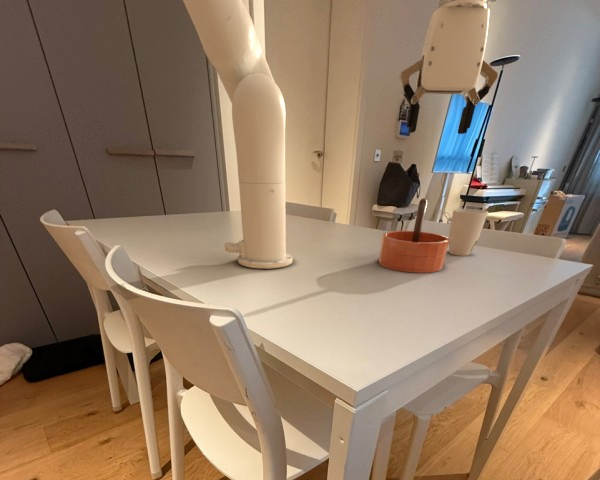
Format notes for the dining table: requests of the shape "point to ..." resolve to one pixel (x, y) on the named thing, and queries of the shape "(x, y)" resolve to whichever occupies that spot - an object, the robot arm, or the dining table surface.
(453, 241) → the cup
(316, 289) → the dining table surface
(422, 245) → the bowl
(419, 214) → the brown peg stand
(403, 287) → the dining table surface
